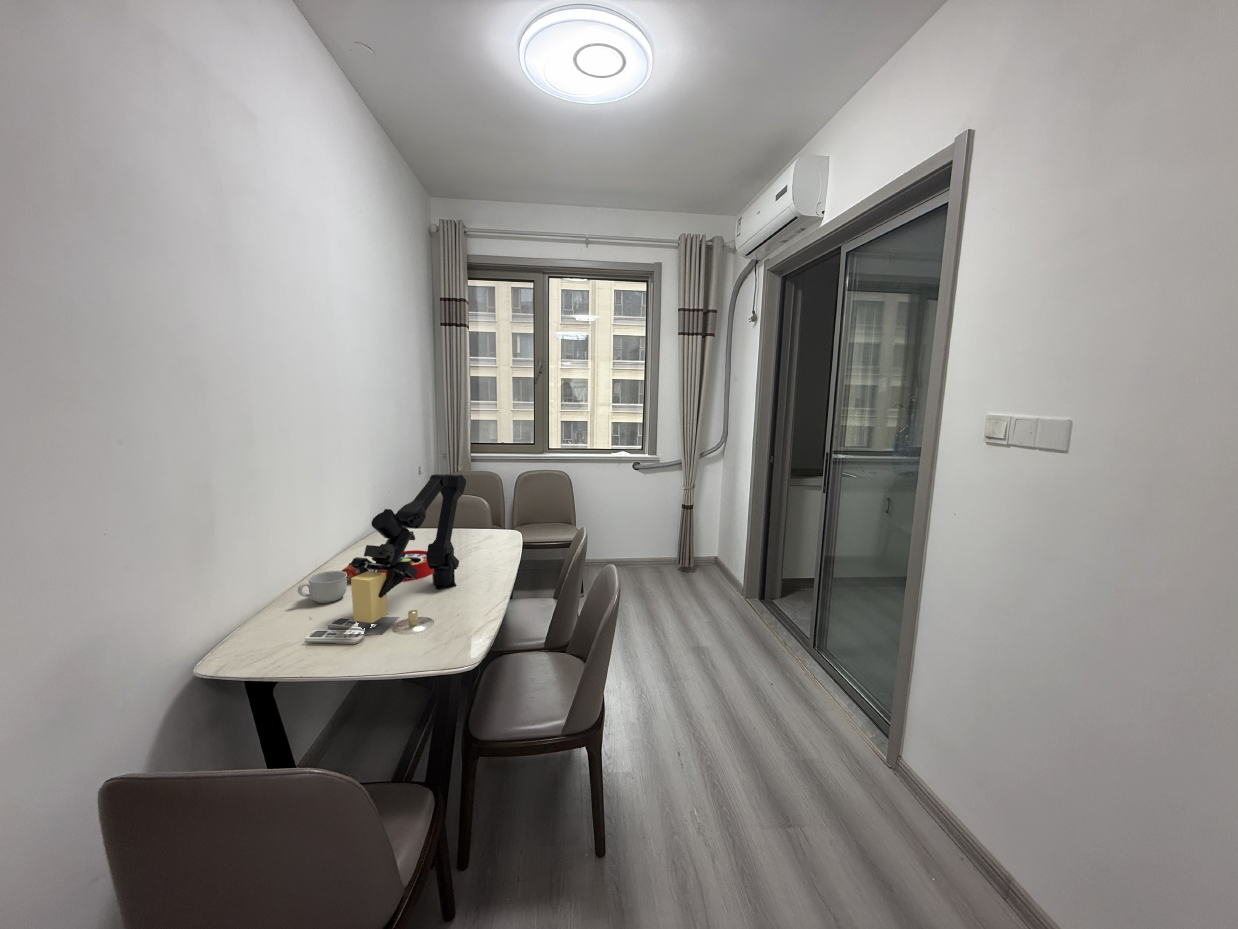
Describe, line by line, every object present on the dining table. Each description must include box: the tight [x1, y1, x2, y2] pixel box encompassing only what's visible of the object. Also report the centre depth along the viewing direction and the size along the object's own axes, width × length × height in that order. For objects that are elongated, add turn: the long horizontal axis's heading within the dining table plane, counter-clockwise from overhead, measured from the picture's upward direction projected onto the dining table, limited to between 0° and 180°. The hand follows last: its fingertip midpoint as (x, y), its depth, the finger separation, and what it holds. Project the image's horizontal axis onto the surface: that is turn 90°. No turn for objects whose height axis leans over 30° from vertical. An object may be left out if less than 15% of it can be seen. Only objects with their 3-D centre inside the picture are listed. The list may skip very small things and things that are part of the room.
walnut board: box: [349, 616, 400, 636], centre depth 134 cm, size 24×16×1 cm, turn 91°
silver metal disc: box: [391, 609, 435, 636], centre depth 134 cm, size 11×11×4 cm
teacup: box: [297, 570, 348, 604], centre depth 153 cm, size 14×11×8 cm
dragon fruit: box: [341, 562, 377, 582], centre depth 171 cm, size 8×8×12 cm
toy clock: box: [376, 549, 434, 583], centre depth 180 cm, size 20×6×20 cm
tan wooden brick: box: [350, 571, 389, 623], centre depth 133 cm, size 6×6×12 cm
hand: (370, 596), depth 133 cm, fingers closed on tan wooden brick, 6 cm apart
